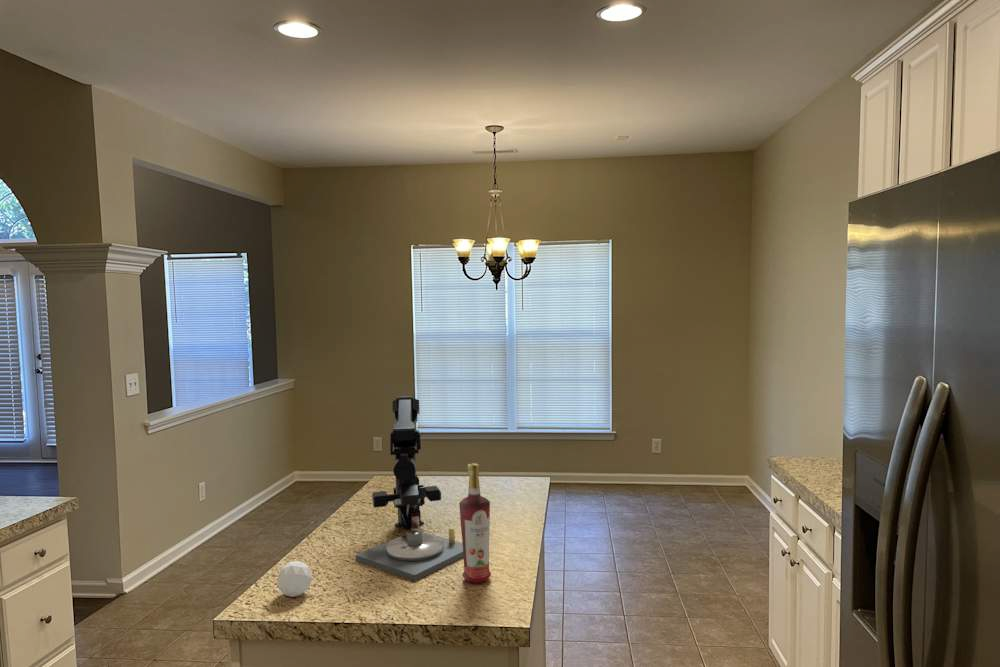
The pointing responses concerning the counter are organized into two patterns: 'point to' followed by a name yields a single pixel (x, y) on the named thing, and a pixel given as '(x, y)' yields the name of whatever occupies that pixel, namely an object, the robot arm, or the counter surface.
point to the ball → (294, 578)
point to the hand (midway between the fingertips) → (407, 526)
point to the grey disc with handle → (415, 545)
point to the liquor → (475, 530)
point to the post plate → (413, 568)
